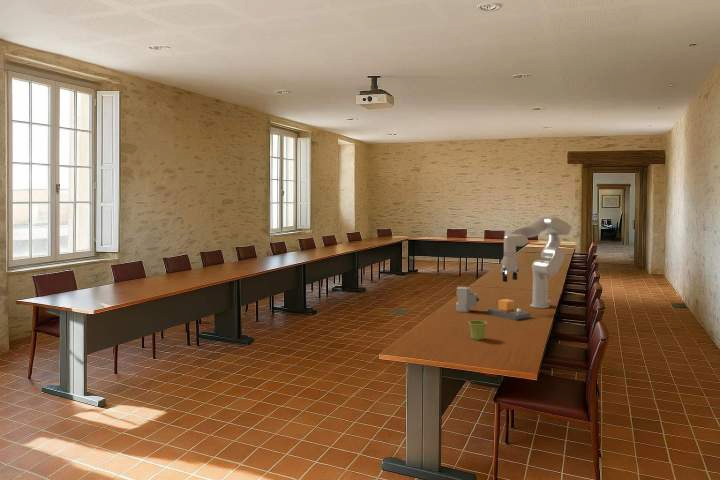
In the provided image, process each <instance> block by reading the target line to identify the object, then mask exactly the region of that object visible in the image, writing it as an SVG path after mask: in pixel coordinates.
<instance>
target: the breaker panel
mask: <svg viewBox="0 0 720 480" xmlns="http://www.w3.org/2000/svg"><path fill="white" fill-rule="evenodd" d="M487 314H488V315H492V316H497V317H500V318H505V319H508V320H512V321H521V320H525V319H530V318H531V317H532V316H531V315H532V314H531V312H529V311H524V310H521V313H517V308H514V310H507V311H506V310H502V309H498V306H497V307H493V308H492V307H491V308H488V309H487Z"/></svg>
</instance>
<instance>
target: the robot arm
mask: <svg viewBox="0 0 720 480" xmlns="http://www.w3.org/2000/svg"><path fill="white" fill-rule="evenodd" d="M571 227H572V226H571V225H570V223H568V222H567V221H565V220H563V219H560V218H559V217H554V216H542V217H540V218H538V219H537V220H536V221H534V222H532V223H531V224H529V225H526V226H522V227H520V228H517V229H515V230H513V231H511V232H510V233H509V234H508V235H504V237H503V257H502V262H501V268H500V270H499V271H500V273H501V276H502V282H503V283H508V273H512V280H515V281H517V280H518V274H519V269H520V266H519V265H518V260H517V254H516V253H517V247H524V246H526V245H527V244H528V242H529V239H528V238H533V237H537V236H539V235H540V234H542V233H543V232H545V231H546V232H547V235H548V237H547V241H546V243H545V245H544V247H543V248H542V250H541V254H540V258H541V259H536V260H534V261H533V262H532V264H531V270H532V302H531V303H530V304H529V306H530V307H532V308H536V309H548V308H550V304H549V303H551V302H552V300H551V299H548V291H549V290H548V285H549V283H548V282H549V280H548V277H549V276H550V277H552V276H555V275H556V274H557V273H558V271H559V269H560V267H561V266H562V264H563V262H564V261H565V257H566V256H565V255H566V254H565V251H564V249H563V248H561V247H560V245H561V238H560V236H559V235H562V236H566V235H568V234H570V232H571ZM547 276H548V277H547Z"/></svg>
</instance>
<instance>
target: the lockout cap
mask: <svg viewBox="0 0 720 480" xmlns="http://www.w3.org/2000/svg"><path fill="white" fill-rule="evenodd" d="M515 302H516V301H515V300H512V299H508V298H505V299H503V298H502V299H498V302H497V303H498V306H497V307H498V309H502V310H506V311H507V310H514V309H515V304H516V303H515Z"/></svg>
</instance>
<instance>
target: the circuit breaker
mask: <svg viewBox="0 0 720 480" xmlns="http://www.w3.org/2000/svg"><path fill="white" fill-rule="evenodd" d="M455 295H456V296H457V302H455V303H456V304H455V312H459V313H462V312H463V313H469V312H470V307H471V308H472V307H473V308H474V307H475V308H476V307H477V302H478V301H479V302H480V297H479V298H478V296H477V292H470V286H457V287H456V294H455Z"/></svg>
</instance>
